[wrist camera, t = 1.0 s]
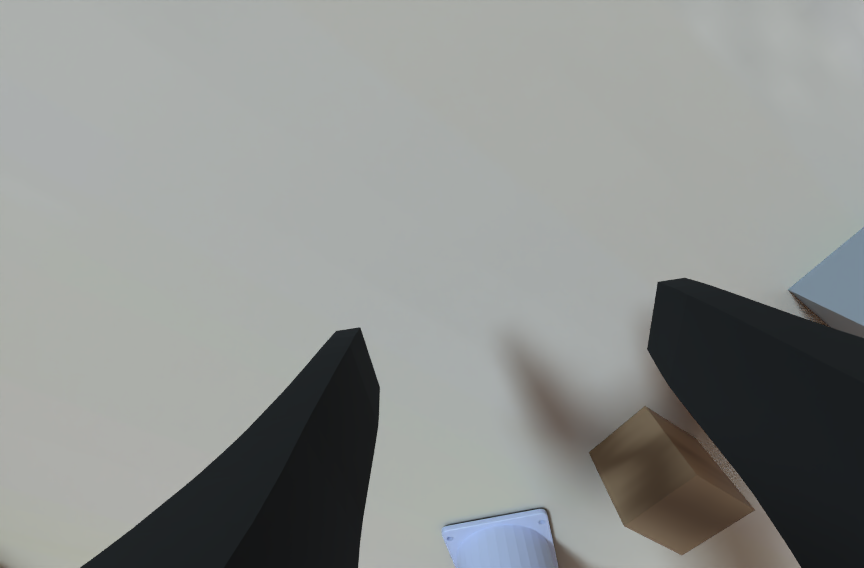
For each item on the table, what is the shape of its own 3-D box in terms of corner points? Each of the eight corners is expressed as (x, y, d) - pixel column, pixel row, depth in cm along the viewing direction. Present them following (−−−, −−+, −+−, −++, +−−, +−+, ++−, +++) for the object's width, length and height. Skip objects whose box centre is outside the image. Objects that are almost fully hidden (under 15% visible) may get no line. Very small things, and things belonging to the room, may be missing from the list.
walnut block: (638, 479, 26) (682, 555, 22) (588, 451, 25) (623, 525, 21) (694, 437, 25) (754, 510, 20) (644, 405, 23) (696, 475, 19)
